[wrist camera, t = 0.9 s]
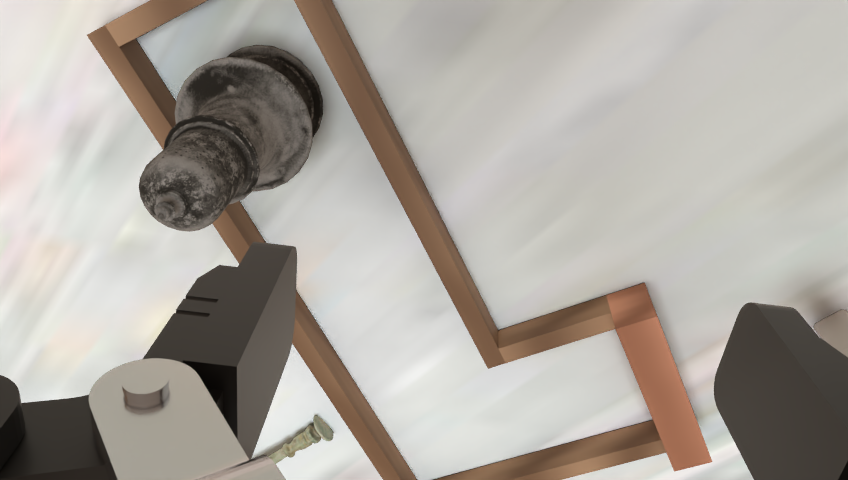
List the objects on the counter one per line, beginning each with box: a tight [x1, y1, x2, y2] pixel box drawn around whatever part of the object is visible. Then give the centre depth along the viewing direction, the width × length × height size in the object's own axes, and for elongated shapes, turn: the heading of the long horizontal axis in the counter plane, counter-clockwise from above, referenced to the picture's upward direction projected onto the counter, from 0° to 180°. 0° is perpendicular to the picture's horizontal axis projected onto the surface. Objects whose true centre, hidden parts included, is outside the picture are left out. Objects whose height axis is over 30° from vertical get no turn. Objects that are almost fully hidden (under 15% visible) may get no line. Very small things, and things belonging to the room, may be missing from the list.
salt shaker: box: [139, 45, 323, 231], centre depth 27 cm, size 6×6×12 cm
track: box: [87, 0, 712, 480], centre depth 34 cm, size 18×32×3 cm, turn 25°
